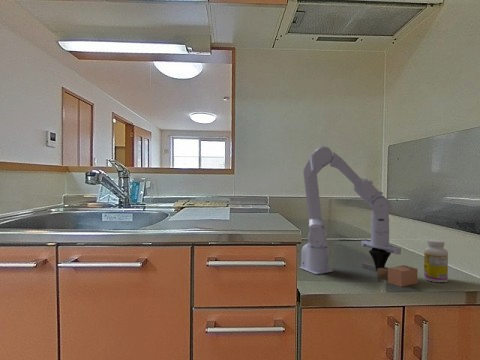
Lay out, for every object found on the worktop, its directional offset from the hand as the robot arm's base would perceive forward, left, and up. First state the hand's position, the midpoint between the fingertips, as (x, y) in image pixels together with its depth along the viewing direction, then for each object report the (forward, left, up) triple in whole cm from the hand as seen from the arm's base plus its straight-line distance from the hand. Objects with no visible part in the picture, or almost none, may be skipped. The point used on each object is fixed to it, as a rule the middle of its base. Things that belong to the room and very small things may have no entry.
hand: (379, 271), depth 112 cm
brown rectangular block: (+5, -1, -2) cm, 5 cm away
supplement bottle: (+12, +12, -2) cm, 17 cm away
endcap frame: (+1, 0, -1) cm, 2 cm away
